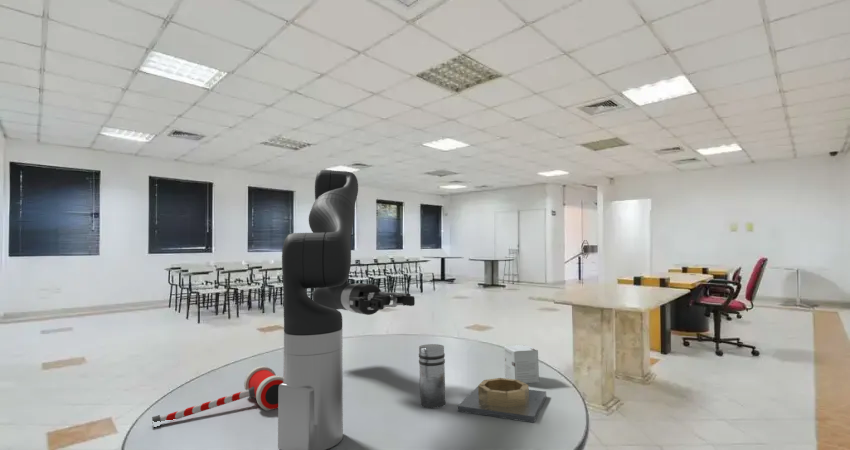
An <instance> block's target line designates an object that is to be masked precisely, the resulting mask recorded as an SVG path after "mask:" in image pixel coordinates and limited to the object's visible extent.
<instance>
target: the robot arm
mask: <svg viewBox="0 0 850 450" xmlns="http://www.w3.org/2000/svg"><path fill="white" fill-rule="evenodd" d="M358 192H359V182H358V178H357V176H356V175H355V174H354V173H353V172H351V171H346V170H331V169H329V170H328V169H321V170H319V171H318V172H317V174H316V176H315V181H314V200H315V201H314V203H313V204H312V206H311V209H310V212H309V215H308V225H309V229H310V230H311V232H293V233H289V234H287V236H286V237H285V239H284V242H283V244H282V245H283V246H282V251H281V270H282V271H281V272H282V292H283V376H282V377H283V383H282V384H280V385H279V388H278V408H277V413H278V414H277V449H278V450H328V449H331V448H333V447H335V446H337V445H339V443H340V442H342V440H343V438H344V420H343V419H344V414H343V413H344V409H343V408H344V405H343V404H344V403H343V401H344V400H343V399H344V398H343V397H344V395H343V392H344V391H343V387H344V386H343V385H344V383H343V380H344V379H343V377H344V376H343V373H344V372H343V369H344V368H343V366H344V364H343V360H344V359H343V314H342V313H341V311H339V310H344V311H349V312H352V313H355V314H360V315H367V316H368V315H369V316H370V315H371V316H372V315H374V314H376V313H378V311H380V310H384V309H385V308H396V307H398V306H407V307H414V306H415V303H416V302H415V296H414V295H411V293H404V292H403V293H402V292H386V291H382V290H381V288H379V286H377V285H376V284H373V283H358V282H357V283H349V280H348V278H349V276H350V272H351V267H352V266H351V265H352V239H351V237H352V231H353V228H354V227H353V226H354V222H355V221H354V220H355V205H356V203H357V202H356V201H357V199H358V194H359V193H358ZM306 289H314V291H313V293H312V298H311V297H309V296H308V293H307V290H306ZM391 301H392V302H391ZM391 303H392V304H391Z"/></svg>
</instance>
